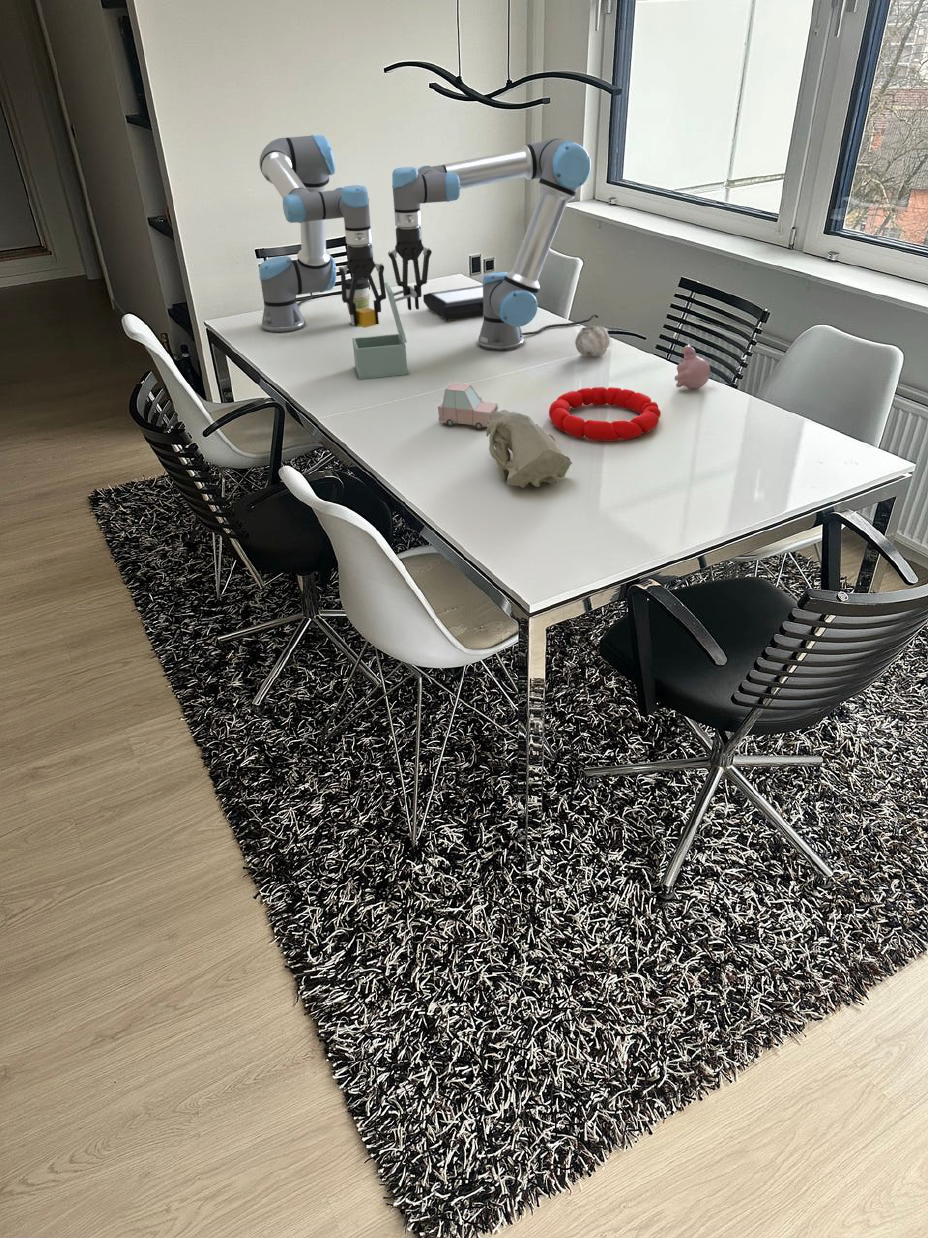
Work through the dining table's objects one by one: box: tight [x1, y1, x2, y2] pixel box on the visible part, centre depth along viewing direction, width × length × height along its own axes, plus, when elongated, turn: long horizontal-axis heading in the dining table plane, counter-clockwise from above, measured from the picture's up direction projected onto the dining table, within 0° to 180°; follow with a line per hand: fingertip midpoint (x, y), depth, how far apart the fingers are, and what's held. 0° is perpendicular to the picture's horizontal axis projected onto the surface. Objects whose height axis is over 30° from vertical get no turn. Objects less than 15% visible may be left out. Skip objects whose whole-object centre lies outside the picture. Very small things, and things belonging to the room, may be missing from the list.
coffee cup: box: [346, 277, 371, 327], centre depth 323 cm, size 10×10×15 cm
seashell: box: [574, 324, 611, 358], centre depth 286 cm, size 10×15×10 cm
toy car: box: [437, 382, 499, 431], centre depth 243 cm, size 9×15×10 cm, turn 70°
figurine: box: [674, 344, 711, 390], centre depth 259 cm, size 9×11×12 cm
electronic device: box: [422, 284, 483, 322], centre depth 335 cm, size 32×6×20 cm
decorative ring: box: [548, 386, 661, 442], centre depth 242 cm, size 7×30×30 cm
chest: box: [351, 333, 408, 380], centre depth 281 cm, size 15×12×9 cm
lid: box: [384, 281, 417, 344], centre depth 275 cm, size 16×12×8 cm
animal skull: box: [485, 409, 573, 489], centre depth 216 cm, size 17×25×20 cm
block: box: [356, 307, 377, 328], centre depth 274 cm, size 4×4×4 cm
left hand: (366, 323), depth 275 cm, fingers closed on block, 6 cm apart
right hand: (413, 308), depth 275 cm, fingers closed on lid, 2 cm apart
